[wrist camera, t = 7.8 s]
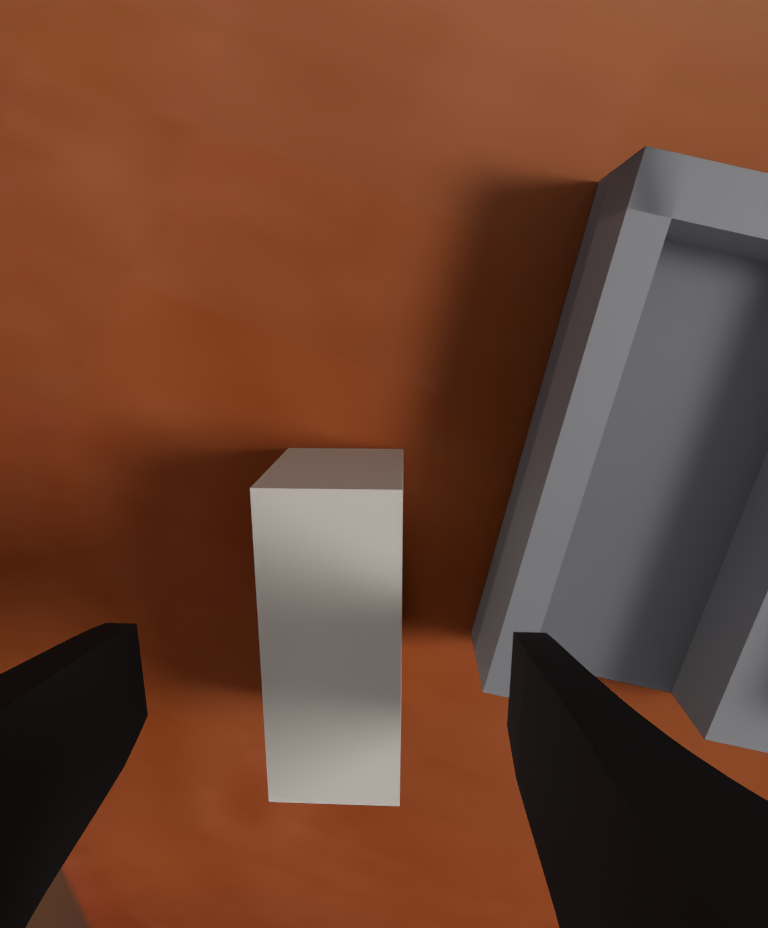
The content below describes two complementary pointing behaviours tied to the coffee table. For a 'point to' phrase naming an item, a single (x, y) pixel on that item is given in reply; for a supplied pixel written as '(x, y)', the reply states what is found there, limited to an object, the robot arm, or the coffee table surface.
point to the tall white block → (331, 623)
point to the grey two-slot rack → (651, 453)
